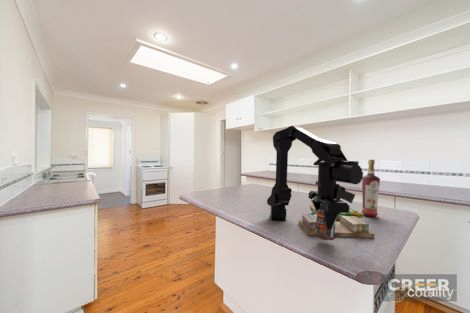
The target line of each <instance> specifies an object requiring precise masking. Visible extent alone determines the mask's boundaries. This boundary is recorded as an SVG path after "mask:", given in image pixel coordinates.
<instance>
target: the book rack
mask: <svg viewBox="0 0 470 313" xmlns="http://www.w3.org/2000/svg"><path fill="white" fill-rule="evenodd" d="M316 217H317V215H314V214H302V219H301V220H300V219H299V220H298V225H299V226H300V227H301V229H302V230H303V232H304V233H305V234H306V236H311V237H313V236H314V237H317V236H316ZM369 225H370V224H369V223H368V222H366V221H364V220H362V218H357V217H355V216H340V221H336V223H335V237H338V238H341V237H343V238H361V239H363V238H364V239H374V238H375V233H374V232H372V231H370V228H369V227H370V226H369Z"/></svg>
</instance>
